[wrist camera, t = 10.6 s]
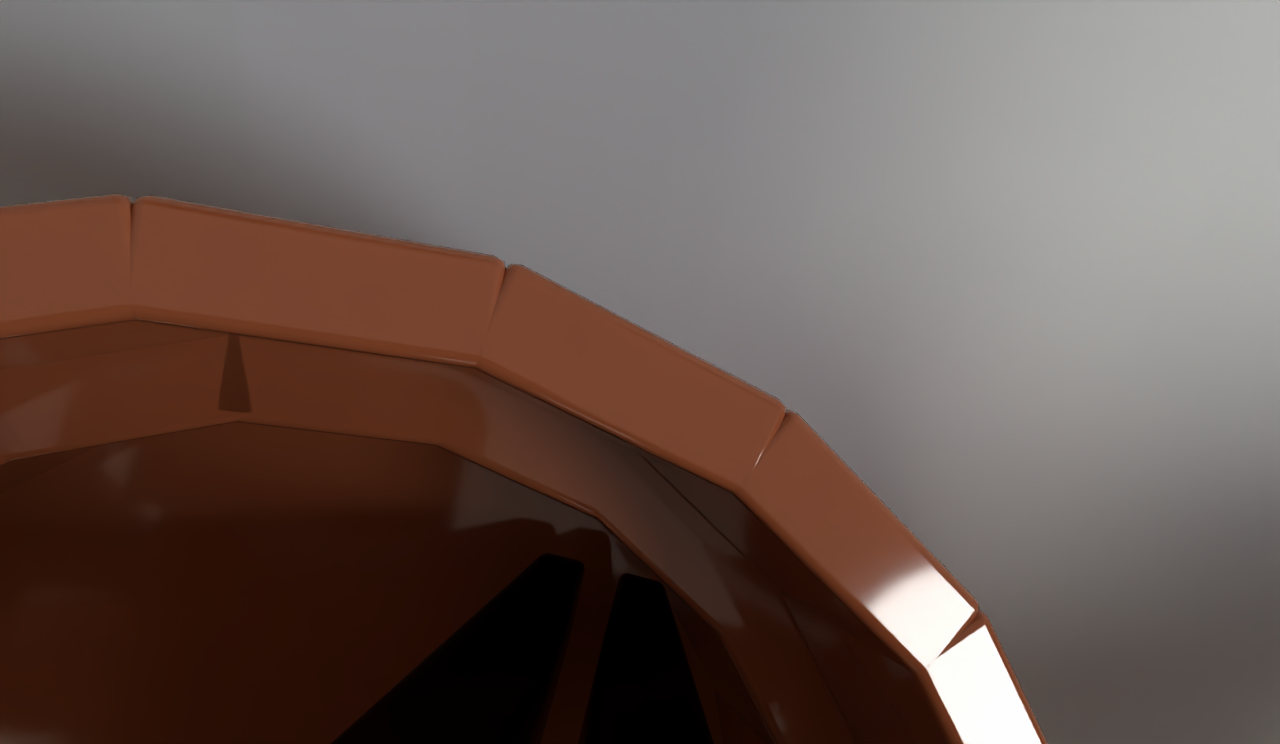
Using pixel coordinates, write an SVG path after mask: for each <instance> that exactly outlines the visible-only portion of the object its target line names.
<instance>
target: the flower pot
mask: <svg viewBox="0 0 1280 744" xmlns="http://www.w3.org/2000/svg"><path fill="white" fill-rule="evenodd" d="M545 553H552V554H556V555H560V556H564V557H568V558H571V559H575V560H579V561H581V562H582V563H583V564H584V566H585V573H584V578H583V582H582V587H581V591H580V596H579V600H578V605H577V609H576V614H575V618H574V623H573V627H572V631H571V635H570V639H569V643H568V647H567V650H566V654H565V658H564V661H563V665H562V669H561V672H560V676H559V679H558V683H557V687H556V690H555V694H554V698H553V701H552V705H551V709H550V712H549V716H548V720H547V723H546V727H545V730H544V734H543V738H542V741H541V744H578V740H579V736H580V731H581V727H582V723H583V719H584V715H585V711H586V707H587V703H588V699H589V695H590V691H591V687H592V683H593V679H594V675H595V671H596V667H597V663H598V659H599V655H600V651H601V647H602V643H603V638H604V635H605V631H606V627H607V623H608V619H609V615H610V611H611V607H612V603H613V599H614V595H615V591H616V587H617V583H618V579H619V577H620V576H621V575H622V574H624V573H630V574H634V575H637V576H641V577H645V578H649V579H653V580H657V581H659V582H660V583H661V584H663V586H664V588H665V590H666V593H667V596H668V600H669V603H670V606H671V609H672V612H673V615H674V618H675V622H676V625H677V628H678V631H679V634H680V637H681V641H682V644H683V647H684V650H685V653H686V656H687V660H688V663H689V666H690V669H691V672H692V675H693V678H694V682H695V685H696V688H697V691H698V694H699V697H700V701H701V704H702V707H703V710H704V713H705V716H706V720H707V723H708V726H709V729H710V732H711V735H712V739H713V742H714V744H1047V741H1046V739H1045V737H1044V735H1043V733H1042V731H1041V729H1040V727H1039V724H1038V722H1037V720H1036V718H1035V716H1034V714H1033V712H1032V710H1031V707H1030V705H1029V703H1028V701H1027V699H1026V697H1025V695H1024V693H1023V691H1022V688H1021V686H1020V684H1019V682H1018V680H1017V678H1016V676H1015V674H1014V671H1013V669H1012V667H1011V665H1010V663H1009V661H1008V659H1007V657H1006V654H1005V652H1004V650H1003V648H1002V646H1001V644H1000V642H999V640H998V638H997V635H996V633H995V631H994V629H993V627H992V625H991V623H990V621H989V619H988V617H987V616H986V615H985V614H984V613H983V612H982V611H981V610H979V605H978V603H977V601H976V600H975V598H974V597H973V596H972V595H971V594H970V593H969V592H968V591H967V590H966V588H965V587H964V586H963V585H962V584H961V583H960V582H959V581H958V580H957V579H956V578H955V577H954V576H953V575H952V574H951V573H950V572H949V571H948V570H947V569H946V568H945V567H944V566H943V564H942V563H941V562H940V561H939V560H938V559H937V558H936V557H935V556H934V555H933V554H932V553H931V552H930V551H929V550H928V549H927V548H926V547H925V546H924V545H923V544H922V543H921V542H920V540H919V539H918V538H917V537H916V536H915V535H914V534H913V533H912V532H911V531H910V530H909V529H908V528H907V527H906V526H905V525H904V524H903V523H902V522H901V521H900V520H899V519H898V517H897V516H896V515H895V514H894V513H893V512H892V511H891V510H890V509H889V508H888V507H887V506H886V505H885V504H884V503H883V502H882V501H881V500H880V499H879V498H878V497H877V496H876V495H875V493H874V492H873V491H872V490H871V489H870V488H869V487H868V486H867V485H866V484H865V483H864V482H863V481H862V480H861V479H860V478H859V477H858V476H857V475H856V474H855V473H854V472H853V471H852V469H851V468H850V467H849V466H848V465H847V464H846V463H845V462H844V461H843V460H842V459H841V458H840V457H839V456H838V455H837V454H836V453H835V452H834V451H833V450H832V449H831V448H830V447H829V445H828V444H827V443H826V442H825V441H824V440H823V439H822V438H821V437H820V436H819V435H818V434H817V433H816V432H815V431H814V430H813V429H812V428H811V427H810V426H809V425H808V424H807V422H806V421H805V420H804V419H803V418H802V417H801V416H800V415H799V414H798V413H795V412H793V411H791V410H786V407H785V406H784V405H783V404H782V402H781V401H780V400H779V399H778V398H776V397H774V396H772V395H770V394H768V393H766V392H764V391H762V390H761V389H759V388H757V387H755V386H753V385H751V384H749V383H747V382H745V381H743V380H741V379H740V378H738V377H736V376H734V375H732V374H730V373H728V372H726V371H724V370H722V369H720V368H718V367H717V366H715V365H713V364H711V363H709V362H707V361H705V360H703V359H701V358H699V357H697V356H696V355H694V354H692V353H690V352H688V351H686V350H684V349H682V348H680V347H678V346H676V345H674V344H673V343H671V342H669V341H667V340H665V339H663V338H661V337H659V336H657V335H655V334H653V333H651V332H650V331H648V330H646V329H644V328H642V327H640V326H638V325H636V324H634V323H632V322H630V321H629V320H627V319H625V318H623V317H621V316H619V315H617V314H615V313H613V312H611V311H609V310H607V309H606V308H604V307H602V306H600V305H598V304H596V303H594V302H592V301H590V300H588V299H586V298H585V297H583V296H581V295H579V294H577V293H575V292H573V291H571V290H569V289H567V288H565V287H563V286H562V285H560V284H558V283H556V282H554V281H552V280H550V279H548V278H546V277H544V276H542V275H541V274H539V273H537V272H535V271H533V270H531V269H529V268H527V267H525V266H523V265H518V264H510V265H509V266H508V267H507V268H506V266H505V262H504V261H503V260H501V259H499V258H498V257H496V256H494V255H488V254H482V253H477V252H471V251H466V250H460V249H454V248H449V247H443V246H437V245H432V244H426V243H420V242H415V241H409V240H403V239H398V238H392V237H386V236H381V235H375V234H369V233H364V232H358V231H353V230H347V229H341V228H336V227H330V226H324V225H319V224H313V223H307V222H302V221H296V220H290V219H285V218H279V217H273V216H268V215H262V214H256V213H251V212H245V211H240V210H234V209H228V208H223V207H217V206H211V205H206V204H200V203H194V202H189V201H183V200H177V199H172V198H166V197H160V196H155V195H148V196H143V197H138V198H137V199H136V200H134V199H132V198H131V197H128V196H124V195H120V194H108V195H98V196H89V197H79V198H70V199H60V200H51V201H42V202H32V203H23V204H13V205H4V206H0V744H331V743H332V742H333V741H334V740H335V739H336V738H337V737H339V736H340V735H341V734H342V733H343V732H344V731H345V730H346V729H347V728H349V727H350V726H351V725H352V724H353V723H354V722H355V721H356V720H358V719H359V718H360V717H361V716H362V715H363V714H364V713H365V712H366V711H368V710H369V709H370V708H371V707H372V706H373V705H374V704H375V703H376V702H378V701H379V700H380V699H381V698H382V697H383V696H384V695H385V694H386V693H388V692H389V691H390V690H391V689H392V688H393V687H394V686H395V685H397V684H398V683H399V682H400V681H401V680H402V679H403V678H404V677H405V676H407V675H408V674H409V673H410V672H411V671H412V670H413V669H414V668H415V667H417V666H418V665H419V664H420V663H421V662H422V661H423V660H424V659H425V658H427V657H428V656H429V655H430V654H431V653H432V652H433V651H434V650H435V649H437V648H438V647H439V646H440V645H441V644H442V643H443V642H444V641H446V640H447V639H448V638H449V637H450V636H451V635H452V634H453V633H454V632H456V631H457V630H458V629H459V628H460V627H461V626H462V625H463V624H464V623H466V622H467V621H468V620H469V619H470V618H471V617H472V616H473V615H474V614H476V613H477V612H478V611H479V610H480V609H481V608H482V607H483V606H485V605H486V604H487V603H488V602H489V601H490V600H491V599H492V598H493V597H495V596H496V595H497V594H498V593H499V592H500V591H501V590H502V589H503V588H505V587H506V586H507V585H508V584H509V583H510V582H511V581H512V580H513V579H515V578H516V577H517V576H518V575H519V574H520V573H521V572H522V571H524V570H525V569H526V568H527V567H528V566H529V565H530V564H531V563H532V562H534V561H535V560H536V559H537V558H538V557H539V556H541V555H542V554H545Z"/></svg>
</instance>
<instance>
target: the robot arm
mask: <svg viewBox="0 0 1280 744" xmlns="http://www.w3.org/2000/svg"><path fill="white" fill-rule="evenodd" d="M584 573H585V566H584V564H583V563H582V562H581V561H579V560H575V559H571V558H568V557H564V556H560V555H556V554H552V553H545V554H542V555H541V556H539V557H538V558H537V559H536V560H535V561H534V562H532V563H531V564H530V565H529V566H528V567H527V568H526V569H525V570H524V571H522V572H521V573H520V574H519V575H518V576H517V577H516V578H515V579H513V580H512V581H511V582H510V583H509V584H508V585H507V586H506V587H505V588H503V589H502V590H501V591H500V592H499V593H498V594H497V595H496V596H495V597H493V598H492V599H491V600H490V601H489V602H488V603H487V604H486V605H485V606H483V607H482V608H481V609H480V610H479V611H478V612H477V613H476V614H474V615H473V616H472V617H471V618H470V619H469V620H468V621H467V622H466V623H464V624H463V625H462V626H461V627H460V628H459V629H458V630H457V631H456V632H454V633H453V634H452V635H451V636H450V637H449V638H448V639H447V640H446V641H444V642H443V643H442V644H441V645H440V646H439V647H438V648H437V649H435V650H434V651H433V652H432V653H431V654H430V655H429V656H428V657H427V658H425V659H424V660H423V661H422V662H421V663H420V664H419V665H418V666H417V667H415V668H414V669H413V670H412V671H411V672H410V673H409V674H408V675H407V676H405V677H404V678H403V679H402V680H401V681H400V682H399V683H398V684H397V685H395V686H394V687H393V688H392V689H391V690H390V691H389V692H388V693H386V694H385V695H384V696H383V697H382V698H381V699H380V700H379V701H378V702H376V703H375V704H374V705H373V706H372V707H371V708H370V709H369V710H368V711H366V712H365V713H364V714H363V715H362V716H361V717H360V718H359V719H358V720H356V721H355V722H354V723H353V724H352V725H351V726H350V727H349V728H347V729H346V730H345V731H344V732H343V733H342V734H341V735H340V736H339V737H337V738H336V739H335V740H334V741H333V742H332V743H331V744H541V741H542V738H543V734H544V730H545V727H546V723H547V720H548V716H549V712H550V709H551V705H552V701H553V698H554V694H555V690H556V687H557V683H558V679H559V676H560V672H561V669H562V665H563V661H564V658H565V654H566V650H567V647H568V643H569V639H570V635H571V631H572V627H573V623H574V618H575V614H576V609H577V605H578V600H579V596H580V591H581V587H582V582H583V578H584ZM578 744H714V742H713V739H712V735H711V732H710V729H709V726H708V723H707V720H706V716H705V713H704V710H703V707H702V704H701V701H700V697H699V694H698V691H697V688H696V685H695V682H694V678H693V675H692V672H691V669H690V666H689V663H688V660H687V656H686V653H685V650H684V647H683V644H682V641H681V637H680V634H679V631H678V628H677V625H676V622H675V618H674V615H673V612H672V609H671V606H670V603H669V600H668V596H667V593H666V590H665V588H664V586H663V584H661V583H660V582H659V581H657V580H653V579H649V578H645V577H641V576H637V575H634V574H630V573H624V574H622V575H621V576H620V577H619V579H618V583H617V587H616V591H615V595H614V599H613V603H612V607H611V611H610V615H609V619H608V623H607V627H606V631H605V635H604V638H603V643H602V647H601V651H600V655H599V659H598V663H597V667H596V671H595V675H594V679H593V683H592V687H591V691H590V695H589V699H588V703H587V707H586V711H585V715H584V719H583V723H582V727H581V731H580V736H579V740H578Z"/></svg>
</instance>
